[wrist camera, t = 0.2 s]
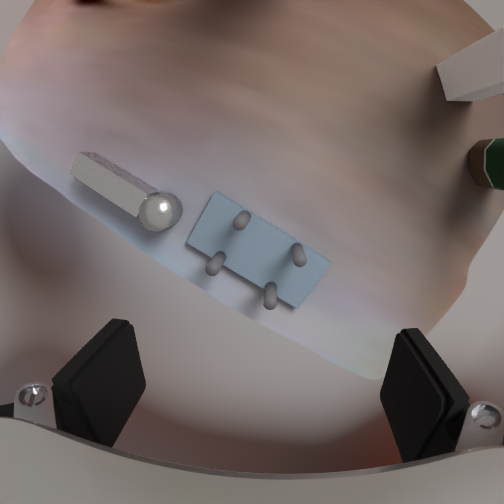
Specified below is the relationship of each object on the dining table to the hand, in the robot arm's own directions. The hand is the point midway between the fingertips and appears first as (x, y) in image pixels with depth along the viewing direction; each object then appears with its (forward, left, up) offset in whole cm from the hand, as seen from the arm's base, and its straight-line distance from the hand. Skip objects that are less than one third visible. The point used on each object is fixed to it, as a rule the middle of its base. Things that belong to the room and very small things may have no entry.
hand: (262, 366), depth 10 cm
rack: (+4, -2, -31) cm, 31 cm away
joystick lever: (-3, -21, -31) cm, 37 cm away
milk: (-25, +27, -31) cm, 48 cm away
